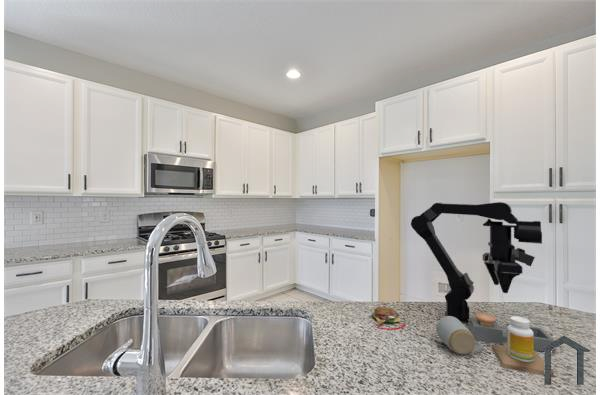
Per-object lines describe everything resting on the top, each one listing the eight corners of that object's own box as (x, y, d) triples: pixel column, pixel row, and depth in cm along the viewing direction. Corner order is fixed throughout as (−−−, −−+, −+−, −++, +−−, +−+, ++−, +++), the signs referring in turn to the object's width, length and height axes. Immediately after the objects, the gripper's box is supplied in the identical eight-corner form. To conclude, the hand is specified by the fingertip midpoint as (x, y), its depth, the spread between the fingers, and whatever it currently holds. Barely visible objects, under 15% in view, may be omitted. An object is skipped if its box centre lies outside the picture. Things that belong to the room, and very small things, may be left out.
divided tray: (475, 341, 82) (475, 327, 82) (469, 328, 90) (469, 316, 90) (555, 354, 75) (555, 339, 75) (541, 339, 83) (541, 326, 83)
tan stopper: (477, 336, 83) (477, 317, 84) (473, 328, 88) (473, 311, 88) (497, 339, 82) (497, 320, 82) (492, 331, 86) (492, 313, 86)
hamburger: (358, 314, 102) (358, 298, 102) (394, 313, 104) (394, 297, 104) (371, 332, 88) (371, 312, 88) (413, 330, 90) (413, 311, 90)
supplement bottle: (539, 364, 69) (538, 324, 69) (514, 361, 70) (514, 322, 70) (525, 352, 74) (525, 315, 74) (503, 350, 75) (502, 314, 75)
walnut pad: (503, 367, 69) (503, 363, 69) (491, 347, 78) (491, 344, 78) (553, 376, 65) (553, 372, 65) (535, 355, 75) (535, 351, 75)
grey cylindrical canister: (449, 356, 74) (450, 327, 74) (435, 341, 82) (435, 314, 82) (490, 358, 74) (490, 328, 74) (471, 342, 82) (472, 316, 82)
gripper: (544, 246, 79) (544, 301, 79) (519, 238, 96) (519, 283, 96) (497, 244, 83) (498, 296, 83) (482, 236, 100) (482, 280, 100)
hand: (500, 288), depth 90 cm, fingers open, 9 cm apart
